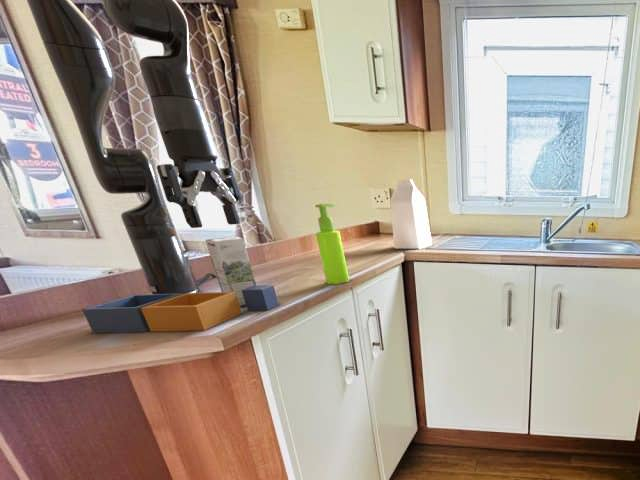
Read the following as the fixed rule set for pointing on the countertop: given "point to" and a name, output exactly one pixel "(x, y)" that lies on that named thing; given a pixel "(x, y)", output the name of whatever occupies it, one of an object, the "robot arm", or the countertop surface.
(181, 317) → the honey bin
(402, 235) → the milk
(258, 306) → the slate block
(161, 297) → the slate bin
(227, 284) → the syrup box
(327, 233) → the soap dispenser
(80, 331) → the countertop surface
